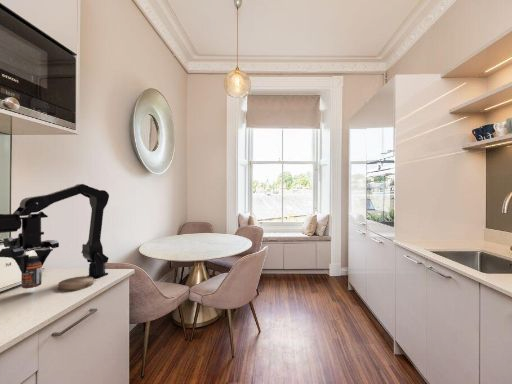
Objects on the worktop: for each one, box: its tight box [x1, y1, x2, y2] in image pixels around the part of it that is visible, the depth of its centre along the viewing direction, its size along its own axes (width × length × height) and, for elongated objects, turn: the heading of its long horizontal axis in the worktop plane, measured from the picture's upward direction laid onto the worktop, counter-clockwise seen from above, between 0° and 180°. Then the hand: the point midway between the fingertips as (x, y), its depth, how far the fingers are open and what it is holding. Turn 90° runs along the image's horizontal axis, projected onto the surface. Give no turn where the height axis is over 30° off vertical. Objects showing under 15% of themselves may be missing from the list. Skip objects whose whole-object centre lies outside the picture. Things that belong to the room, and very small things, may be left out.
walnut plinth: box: [57, 275, 94, 292], centre depth 109 cm, size 12×12×2 cm
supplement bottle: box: [21, 255, 43, 289], centre depth 102 cm, size 6×6×11 cm
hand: (31, 270), depth 102 cm, fingers closed on supplement bottle, 6 cm apart
